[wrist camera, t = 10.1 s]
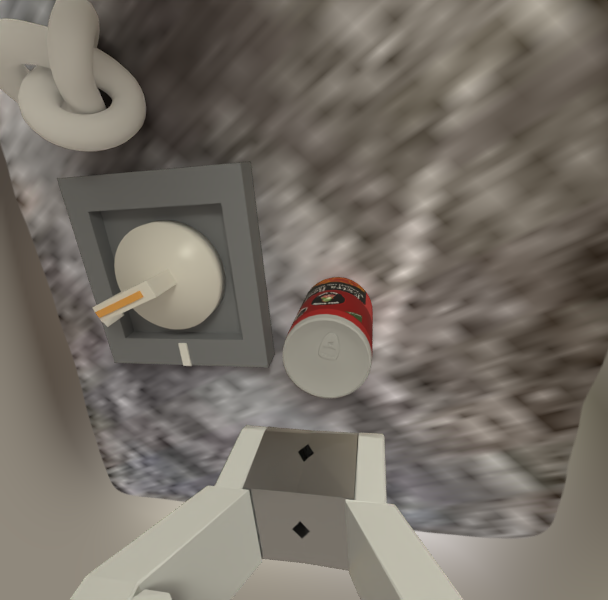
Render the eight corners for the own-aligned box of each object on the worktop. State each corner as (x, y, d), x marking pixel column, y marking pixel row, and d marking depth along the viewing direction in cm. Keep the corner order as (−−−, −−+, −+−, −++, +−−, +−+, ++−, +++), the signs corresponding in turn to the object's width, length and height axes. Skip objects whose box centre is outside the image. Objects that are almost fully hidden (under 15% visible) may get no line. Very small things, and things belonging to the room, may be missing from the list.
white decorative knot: (68, 158, 39) (-12, 159, 31) (28, 25, 35) (-77, -13, 27) (162, 148, 37) (102, 147, 29) (132, 5, 33) (51, -43, 25)
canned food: (371, 272, 38) (370, 316, 28) (374, 340, 41) (373, 400, 31) (300, 276, 40) (275, 318, 30) (308, 340, 43) (287, 398, 33)
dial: (188, 200, 37) (155, 209, 31) (244, 300, 40) (223, 324, 35) (103, 248, 41) (59, 264, 35) (160, 336, 44) (129, 363, 39)
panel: (78, 176, 40) (55, 178, 37) (250, 161, 36) (239, 162, 33) (129, 350, 48) (113, 363, 45) (274, 354, 44) (267, 368, 41)
